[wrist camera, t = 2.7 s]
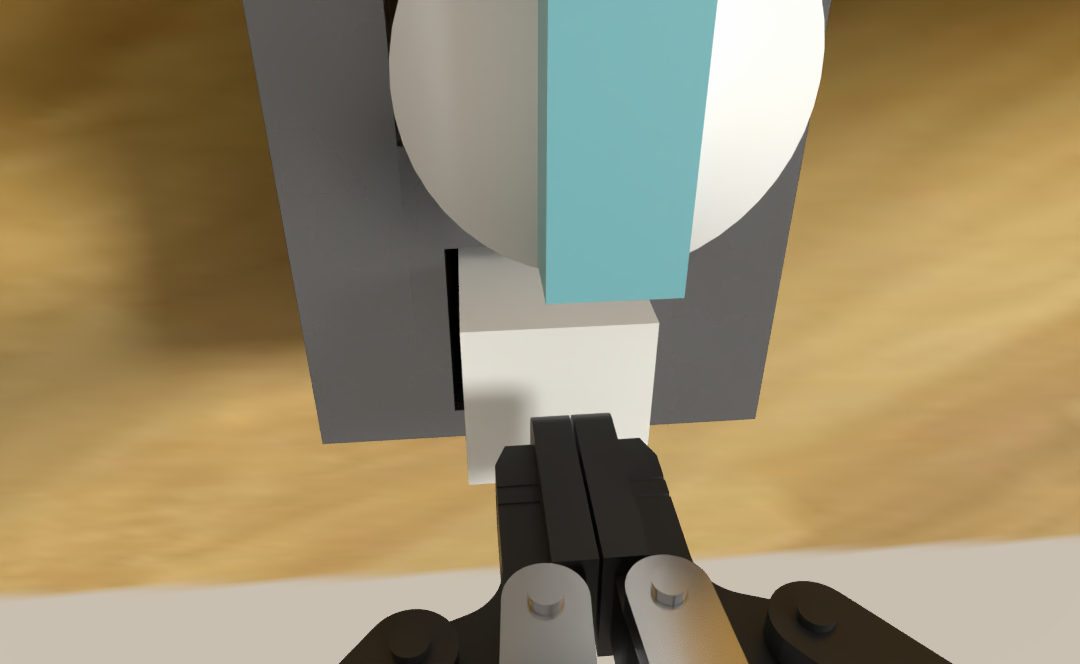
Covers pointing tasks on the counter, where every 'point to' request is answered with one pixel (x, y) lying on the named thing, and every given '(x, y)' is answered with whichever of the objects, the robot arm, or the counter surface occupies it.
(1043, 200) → the counter surface
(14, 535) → the counter surface
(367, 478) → the counter surface
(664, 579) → the robot arm
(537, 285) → the off-white cube
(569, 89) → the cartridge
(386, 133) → the housing
